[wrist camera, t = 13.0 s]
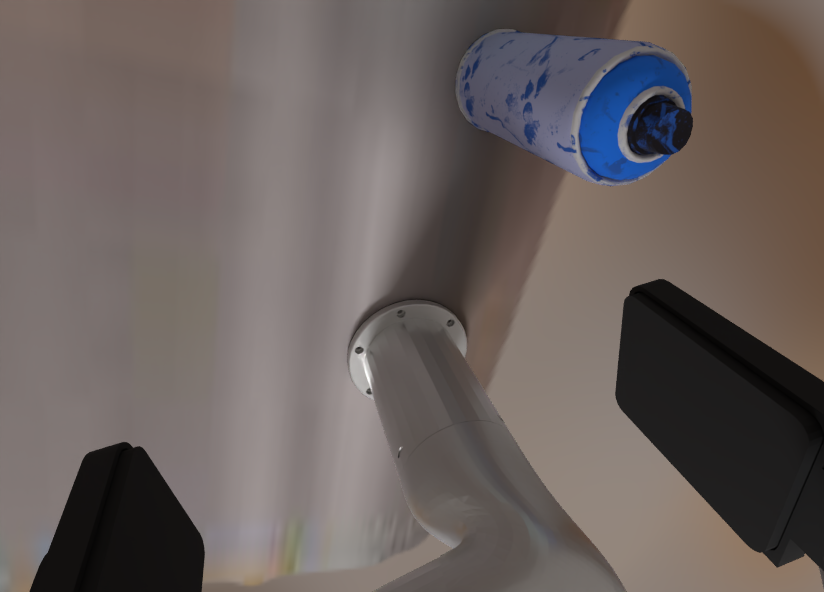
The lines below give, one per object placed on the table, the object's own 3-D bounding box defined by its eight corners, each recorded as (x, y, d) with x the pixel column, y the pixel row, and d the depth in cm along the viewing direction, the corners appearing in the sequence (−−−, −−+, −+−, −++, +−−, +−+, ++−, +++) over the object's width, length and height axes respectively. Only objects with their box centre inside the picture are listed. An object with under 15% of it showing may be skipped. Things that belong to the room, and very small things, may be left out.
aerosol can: (544, 120, 43) (729, 188, 26) (460, 141, 42) (598, 227, 25) (542, 19, 39) (760, 24, 22) (449, 39, 38) (605, 61, 21)
